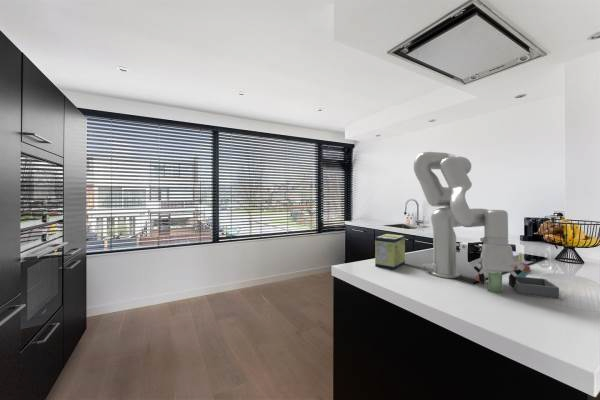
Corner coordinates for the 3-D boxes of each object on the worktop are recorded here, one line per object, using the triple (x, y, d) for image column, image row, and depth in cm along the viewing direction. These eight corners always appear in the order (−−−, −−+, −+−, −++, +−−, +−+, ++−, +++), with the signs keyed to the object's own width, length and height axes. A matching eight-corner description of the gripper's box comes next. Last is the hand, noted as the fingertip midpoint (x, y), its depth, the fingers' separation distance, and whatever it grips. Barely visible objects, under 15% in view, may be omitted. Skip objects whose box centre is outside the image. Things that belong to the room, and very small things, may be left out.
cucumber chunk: (489, 291, 104) (490, 274, 104) (486, 288, 108) (487, 270, 108) (503, 293, 102) (503, 275, 102) (499, 289, 106) (500, 272, 106)
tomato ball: (476, 283, 114) (476, 275, 113) (474, 280, 117) (474, 272, 117) (486, 284, 112) (486, 276, 112) (484, 281, 115) (484, 273, 115)
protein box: (405, 263, 145) (405, 235, 145) (394, 270, 134) (394, 239, 133) (386, 260, 152) (386, 233, 152) (374, 266, 141) (374, 237, 140)
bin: (518, 294, 101) (518, 283, 101) (508, 284, 111) (508, 275, 111) (558, 298, 97) (559, 287, 96) (545, 288, 106) (545, 278, 106)
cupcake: (535, 281, 115) (535, 253, 115) (512, 280, 117) (513, 253, 116) (522, 275, 123) (523, 249, 123) (502, 274, 125) (502, 248, 125)
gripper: (472, 241, 104) (473, 285, 104) (527, 243, 97) (528, 290, 98) (468, 238, 111) (469, 279, 111) (519, 240, 104) (520, 283, 104)
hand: (496, 284), depth 104 cm, fingers open, 9 cm apart
